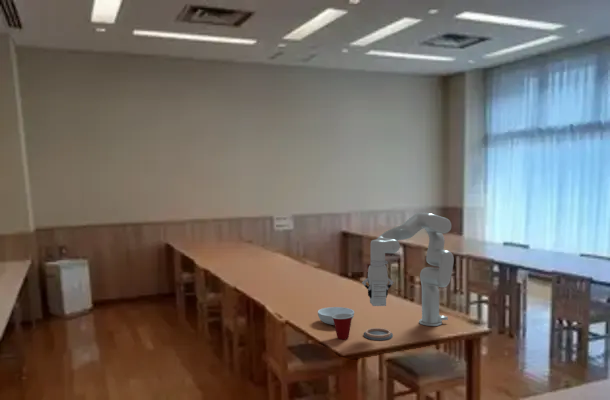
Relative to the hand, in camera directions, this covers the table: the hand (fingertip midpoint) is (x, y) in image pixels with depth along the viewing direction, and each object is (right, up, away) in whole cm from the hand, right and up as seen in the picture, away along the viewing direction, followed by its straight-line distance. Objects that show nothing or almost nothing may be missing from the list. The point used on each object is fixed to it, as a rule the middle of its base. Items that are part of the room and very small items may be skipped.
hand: (377, 297), depth 268 cm
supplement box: (0, -4, 0) cm, 4 cm away
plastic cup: (-19, -21, -2) cm, 28 cm away
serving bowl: (-20, -20, +25) cm, 38 cm away
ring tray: (0, -21, +1) cm, 21 cm away
